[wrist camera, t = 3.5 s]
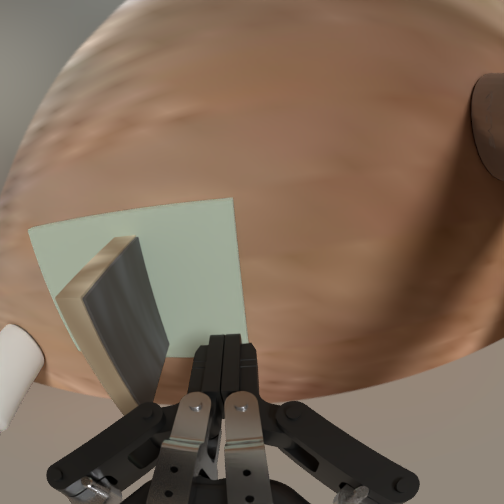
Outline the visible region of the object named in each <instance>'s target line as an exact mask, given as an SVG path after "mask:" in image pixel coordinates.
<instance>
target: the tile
mask: <svg viewBox="0 0 504 504" xmlns="http://www.w3.org/2000/svg"><path fill="white" fill-rule="evenodd" d="M55 300H56V302H57V304H58V306H59V309H60V311H61V313H62V315H63V317H64V319H65V321H66V323H67V325H68V327H69V329H70V331H71V333H72V335H73V337H74V339H75V341H76V342H77V344H78V346H79V348H80V350H81V351H82V353H83V355H84V357H85V358H86V360H87V362H88V363H89V365H90V367H91V368H92V370H93V372H94V373H95V375H96V376H97V378H98V380H99V381H100V383H101V384H102V386H103V387H104V389H105V390H106V392H107V393H108V394H109V396H110V397H111V399H112V400H113V401H114V403H115V404H116V405H117V407H118V408H119V410H120V411H121V412H122V414H123V415H124V416H125V415H126V414H128V413H129V412H130V411H132V410H133V409H134V408H136V407H137V406H138V405H140V404H142V403H145V402H153V400H154V396H155V393H156V389H157V385H158V382H159V378H160V375H161V371H162V368H163V364H164V361H165V358H166V354H167V351H168V348H169V341H168V338H167V335H166V332H165V329H164V326H163V323H162V320H161V317H160V314H159V311H158V308H157V304H156V301H155V298H154V295H153V291H152V288H151V284H150V281H149V277H148V273H147V270H146V266H145V262H144V258H143V254H142V250H141V246H140V242H139V238H138V237H136V235H130V236H121V237H114V238H113V239H112V240H111V241H110V242H109V243H108V244H107V245H106V246H104V247H103V248H102V249H101V250H100V251H99V252H98V253H97V254H96V255H95V256H94V257H93V258H92V259H91V260H90V261H89V262H88V263H87V264H86V265H85V266H84V267H83V268H82V269H81V270H80V271H79V272H78V273H77V274H76V275H75V276H74V277H73V278H72V280H71V281H70V282H69V283H68V284H67V285H66V286H65V287H64V288H63V289H62V290H61V291H60V292H59V294H58V295H57V296H56V297H55Z"/></svg>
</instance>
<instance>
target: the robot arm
mask: <svg viewBox="0 0 504 504" xmlns="http://www.w3.org/2000/svg"><path fill="white" fill-rule="evenodd" d="M471 117H472V127H473V133H474V138H475V143H476V146H477V149H478V153H479V155H480V157H481V159H482V162H483V164H484V165H485V167H486V168H487V170H488V171H489V172H490V173H491V174H492V175H493V176H494V177H496V178H497V179H499V180H502V181H504V73H490V74H485V75H483V76H482V77H481V78H480V79H479V80H478V82H477V84H476V86H475V89H474V92H473V97H472V110H471ZM193 361H194V362H193V366H192V371H191V376H190V382H189V387H188V393H187V395H185V396H184V397H183V398H182V399H181V401H180V402H179V403H178V404H175V405H172V406H167V407H162V408H161V407H160V406H159V405H158V404H156V403H153V402H145V403H142V404H140V405H138V406H137V407H136V408H134V409H133V410H132V411H130V412H129V413H128V414H126V415H125V416H124V417H122V418H121V419H119V420H118V421H116V422H115V423H114V424H112V425H111V426H110V427H108V428H107V429H105V430H104V431H102V432H101V433H100V434H98V435H97V436H95V437H94V438H92V439H91V440H89V441H88V442H87V443H85V444H83V445H82V446H80V447H79V448H77V449H76V450H74V451H73V452H71V453H70V454H68V455H67V456H65V457H64V458H62V459H60V460H59V461H57V462H56V463H54V464H53V465H51V466H50V467H49V468H48V470H47V481H48V483H49V484H50V485H51V486H52V487H53V488H54V489H56V490H58V491H60V492H61V493H63V494H64V495H65V496H67V497H68V499H69V501H70V502H71V504H310V503H309V502H308V501H306V500H305V499H304V498H303V497H302V496H300V495H299V494H298V493H297V492H296V491H295V490H293V489H292V488H290V487H289V486H287V485H285V484H283V483H281V482H278V481H275V480H271V479H269V474H268V466H267V460H266V454H265V447H264V444H266V445H271V446H275V447H278V448H279V449H280V450H281V451H282V452H283V453H285V454H286V455H287V456H288V457H289V458H291V459H292V460H293V461H294V462H295V463H297V464H298V465H299V466H300V467H302V468H303V469H304V470H306V471H307V472H308V473H310V474H311V475H312V476H313V477H315V478H316V479H317V480H319V481H321V482H322V483H323V484H324V485H326V486H327V487H329V488H330V489H331V490H333V491H334V492H336V493H337V495H336V496H335V498H334V500H333V504H403V503H405V502H406V501H408V500H410V499H412V498H413V497H414V496H415V495H416V493H417V492H418V490H419V485H420V483H419V479H418V477H417V476H416V475H415V474H414V473H413V472H411V471H409V470H407V469H405V468H403V467H402V466H400V465H398V464H396V463H394V462H393V461H391V460H389V459H387V458H386V457H384V456H382V455H381V454H379V453H377V452H376V451H374V450H372V449H371V448H369V447H367V446H366V445H364V444H363V443H361V442H359V441H358V440H356V439H355V438H353V437H351V436H350V435H349V434H347V433H346V432H344V431H343V430H341V429H339V428H338V427H336V426H335V425H334V424H332V423H331V422H329V421H328V420H326V419H325V418H323V417H322V416H321V415H319V414H318V413H316V412H315V411H314V410H312V409H311V408H309V407H308V406H307V405H305V404H304V403H301V402H298V401H290V402H286V403H284V404H282V405H281V406H280V405H275V404H270V403H268V402H266V401H264V400H263V399H262V398H261V397H260V395H259V380H258V364H257V354H256V349H255V348H254V346H253V345H252V343H243V344H242V339H241V334H240V333H238V334H226V335H225V334H220V335H210V338H209V344H208V345H200V347H199V348H198V349H197V351H196V352H195V355H194V360H193ZM222 419H225V430H226V444H225V447H224V449H225V450H224V452H225V470H226V478H224V479H219V480H218V470H217V461H218V454H219V448H220V441H221V434H222V431H221V421H222ZM155 466H156V467H155ZM154 467H155V470H154V474H153V478H152V480H150V481H148V482H147V483H145V484H144V485H143V486H141V487H140V488H139V489H138V490H136V491H135V492H134V493H133V494H131V495H130V496H129V497H127V498H126V499H125V500H124V501H122V493H121V492H122V491H123V490H125V489H126V488H127V487H129V486H130V485H131V484H133V483H134V482H135V481H137V480H138V479H140V478H141V477H142V476H143V475H145V474H146V473H147V472H149V471H150V470H151V469H153V468H154Z"/></svg>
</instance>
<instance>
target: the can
mask: <svg viewBox="0 0 504 504" xmlns="http://www.w3.org/2000/svg"><path fill="white" fill-rule="evenodd" d="M43 365H44V355H43V352H42V350H41V348H40V347H39V345H38V344H37V342H36V341H35V340H34V338H33V337H32V336H31V335H30V334H29V333H28V332H27V331H25V330H24V329H23V328H21V327H20V326H18V325H15V324H8V325H6V326H5V327H4V328H3V330H2V331H1V332H0V433H1V432H2V431H4V430H6V429H7V428H8V427H9V425H10V424H11V422H12V420H13V418H14V416H15V414H16V412H17V410H18V408H19V406H20V404H21V403H22V401H23V399H24V397H25V395H26V394H27V392H28V390H29V389H30V387H31V385H32V383H33V382H34V380H35V378H36V377H37V375H38V373H39V372H40V370H41V368H42V367H43Z"/></svg>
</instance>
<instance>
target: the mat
mask: <svg viewBox="0 0 504 504" xmlns="http://www.w3.org/2000/svg"><path fill="white" fill-rule="evenodd" d="M28 233H29V236H30V239H31V243H32V246H33V249H34V252H35V255H36V258H37V261H38V263H39V266H40V269H41V272H42V274H43V277H44V279H45V282H46V284H47V287H48V289H49V292H50V294H51V296H52V299H53V301H54V303H55V305H56V308H57V310H58V312H59V314H60V316H61V318H62V320H63V322H64V324H65V326H66V328H67V330H68V332H69V334H70V336H71V338H72V340H73V342H74V343H75V345H76V347H77V349H78V351H81V350H80V348H79V346H78V344H77V342H76V341H75V339H74V337H73V335H72V333H71V331H70V329H69V327H68V325H67V323H66V321H65V319H64V317H63V315H62V313H61V311H60V309H59V306H58V304H57V302H56V300H55V297H56V296H57V295H58V294H59V292H60V291H61V290H62V289H63V288H64V287H65V286H66V285H67V284H68V283H69V282H70V281H71V280H72V278H73V277H74V276H75V275H76V274H77V273H78V272H79V271H80V270H81V269H82V268H83V267H84V266H85V265H86V264H87V263H88V262H89V261H90V260H91V259H92V258H93V257H94V256H95V255H96V254H97V253H98V252H99V251H100V250H101V249H102V248H103V247H104V246H106V245H107V244H108V243H109V242H110V241H111V240H112V239H113V238H114V237H121V236H130V235H136V237H138V238H139V242H140V246H141V250H142V254H143V258H144V262H145V266H146V270H147V273H148V277H149V281H150V284H151V288H152V291H153V295H154V298H155V301H156V304H157V308H158V311H159V314H160V317H161V320H162V323H163V326H164V329H165V332H166V335H167V338H168V341H169V348H168V351H167V354H166V357H194V355H195V352H196V351H197V349H198V348H199V347H200V345H208V344H209V338H210V335H220V334H225V335H226V334H238V333H240V334H241V339H242V344H243V343H249V342H248V333H247V325H246V316H245V307H244V299H243V290H242V281H241V271H240V262H239V253H238V243H237V234H236V224H235V214H234V204H233V198H223V199H213V200H203V201H193V202H184V203H176V204H168V205H160V206H152V207H145V208H138V209H131V210H124V211H117V212H111V213H105V214H99V215H93V216H87V217H82V218H76V219H71V220H65V221H60V222H55V223H50V224H45V225H40V226H36V227H32V228H30V229H29V230H28Z"/></svg>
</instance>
